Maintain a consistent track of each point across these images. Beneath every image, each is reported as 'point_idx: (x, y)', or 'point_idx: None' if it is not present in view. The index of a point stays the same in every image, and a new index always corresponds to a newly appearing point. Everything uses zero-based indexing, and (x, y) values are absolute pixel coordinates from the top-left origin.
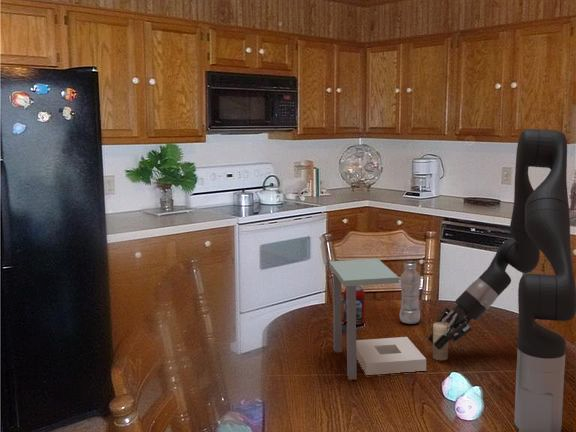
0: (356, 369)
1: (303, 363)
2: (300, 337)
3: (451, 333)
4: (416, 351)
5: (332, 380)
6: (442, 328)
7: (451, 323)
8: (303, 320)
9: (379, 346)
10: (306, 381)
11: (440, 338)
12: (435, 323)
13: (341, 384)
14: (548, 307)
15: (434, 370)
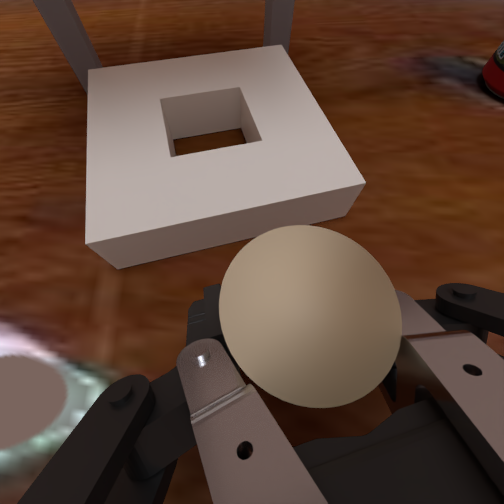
0: (67, 59)
1: (199, 21)
2: (349, 11)
3: (89, 423)
4: (185, 209)
5: (100, 59)
6: (220, 317)
7: (224, 472)
8: (462, 10)
9: (244, 102)
10: (105, 28)
11: (207, 315)
12: (332, 247)
13: (74, 72)
14: None
15: (127, 304)
